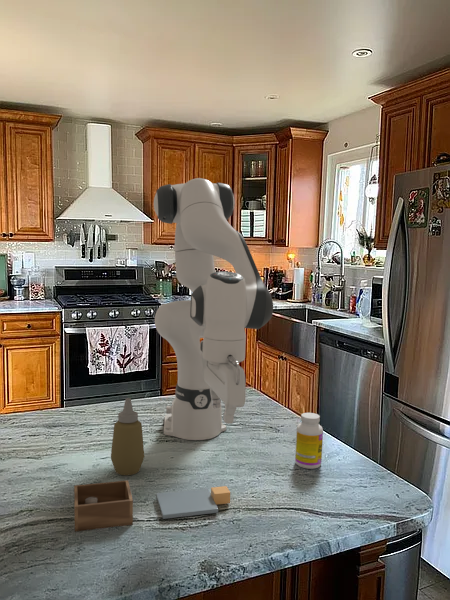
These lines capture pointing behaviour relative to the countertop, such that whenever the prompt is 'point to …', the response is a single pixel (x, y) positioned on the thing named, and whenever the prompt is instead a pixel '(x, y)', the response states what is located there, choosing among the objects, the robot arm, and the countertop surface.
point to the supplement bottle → (309, 441)
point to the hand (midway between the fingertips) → (221, 414)
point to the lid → (192, 501)
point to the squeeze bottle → (127, 442)
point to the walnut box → (102, 505)
